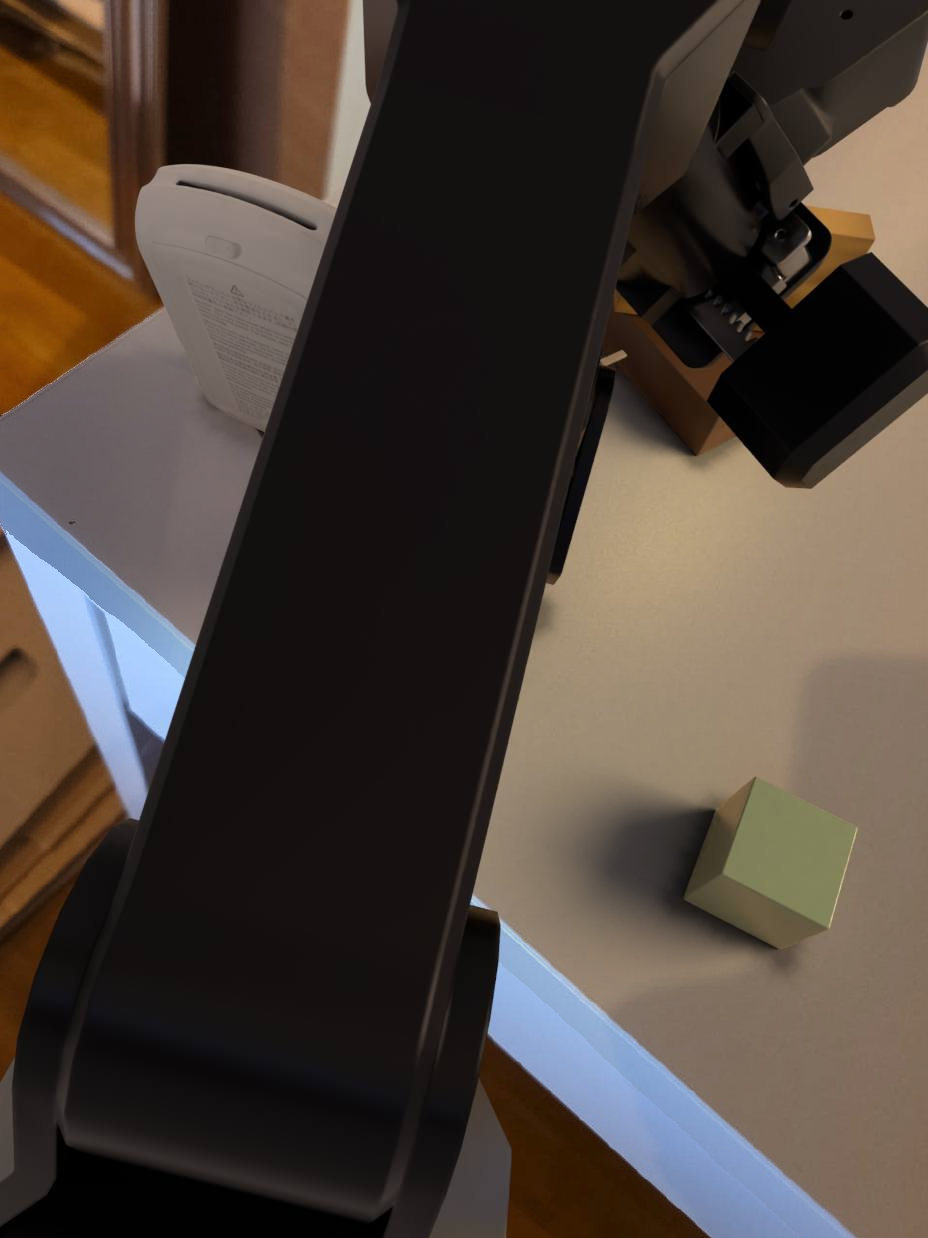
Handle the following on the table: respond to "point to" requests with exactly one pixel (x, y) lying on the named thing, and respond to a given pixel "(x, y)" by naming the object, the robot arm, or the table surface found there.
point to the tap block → (667, 380)
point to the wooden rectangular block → (847, 244)
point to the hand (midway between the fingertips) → (748, 302)
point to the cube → (772, 865)
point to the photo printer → (232, 275)
